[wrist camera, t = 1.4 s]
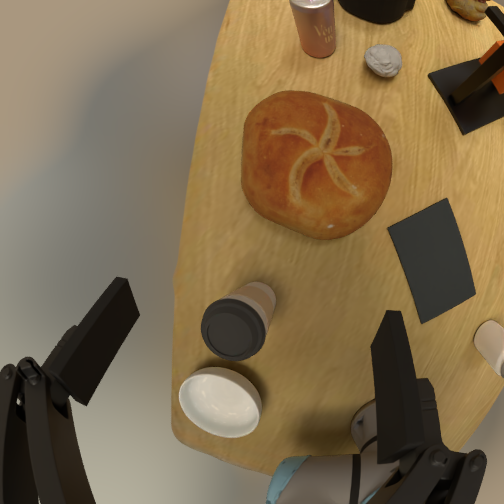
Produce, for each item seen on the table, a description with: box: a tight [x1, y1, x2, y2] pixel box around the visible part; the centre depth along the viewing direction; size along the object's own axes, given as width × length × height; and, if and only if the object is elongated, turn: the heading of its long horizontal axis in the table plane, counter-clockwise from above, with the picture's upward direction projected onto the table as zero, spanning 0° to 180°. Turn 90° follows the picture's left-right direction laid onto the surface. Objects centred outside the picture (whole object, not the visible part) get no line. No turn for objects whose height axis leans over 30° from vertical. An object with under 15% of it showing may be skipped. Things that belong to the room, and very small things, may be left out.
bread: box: [241, 91, 392, 240], centre depth 37 cm, size 23×23×10 cm
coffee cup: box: [201, 282, 276, 361], centre depth 41 cm, size 9×9×15 cm
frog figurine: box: [364, 44, 402, 77], centre depth 32 cm, size 6×7×7 cm
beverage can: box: [289, 0, 336, 57], centre depth 30 cm, size 6×6×15 cm
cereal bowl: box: [179, 367, 262, 438], centre depth 50 cm, size 17×17×7 cm
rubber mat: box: [387, 198, 476, 324], centre depth 38 cm, size 18×12×1 cm, turn 28°
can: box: [474, 320, 504, 378], centre depth 31 cm, size 6×6×12 cm
